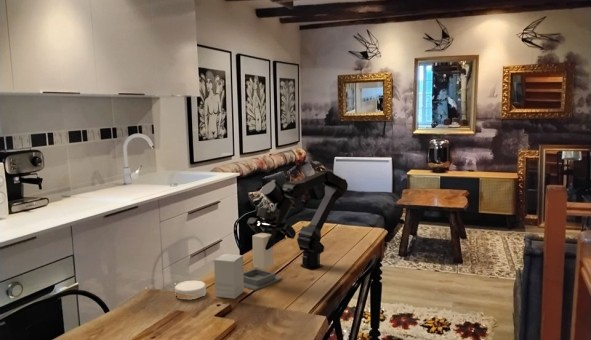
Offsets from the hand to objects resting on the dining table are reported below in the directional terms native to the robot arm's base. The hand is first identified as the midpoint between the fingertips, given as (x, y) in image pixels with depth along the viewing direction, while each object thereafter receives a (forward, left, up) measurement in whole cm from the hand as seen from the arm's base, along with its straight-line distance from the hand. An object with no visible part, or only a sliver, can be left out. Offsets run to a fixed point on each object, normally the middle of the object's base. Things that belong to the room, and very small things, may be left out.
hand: (260, 248), depth 163 cm
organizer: (-2, -4, -13) cm, 14 cm away
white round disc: (+22, -8, -14) cm, 28 cm away
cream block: (-1, 0, -7) cm, 7 cm away
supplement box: (+12, 0, -14) cm, 18 cm away
